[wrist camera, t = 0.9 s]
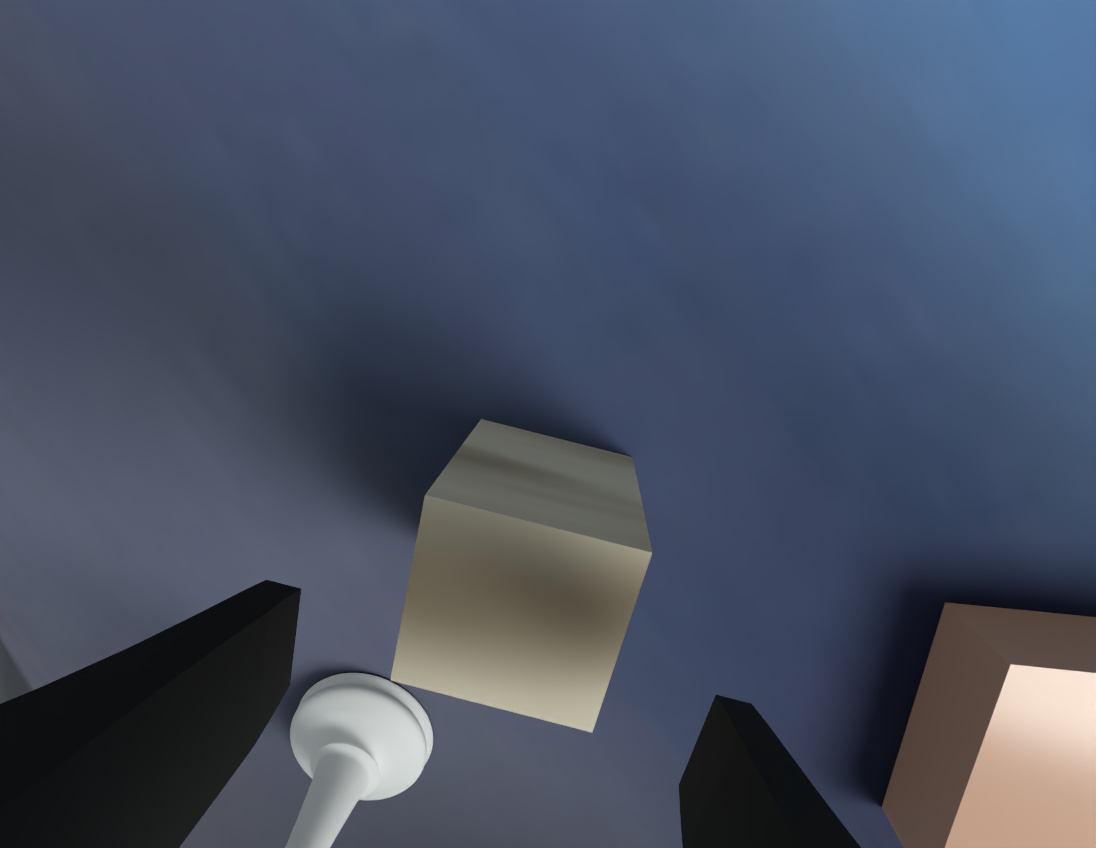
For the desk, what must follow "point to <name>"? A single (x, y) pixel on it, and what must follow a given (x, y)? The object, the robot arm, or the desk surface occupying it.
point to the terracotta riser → (1000, 734)
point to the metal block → (524, 575)
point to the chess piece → (354, 750)
